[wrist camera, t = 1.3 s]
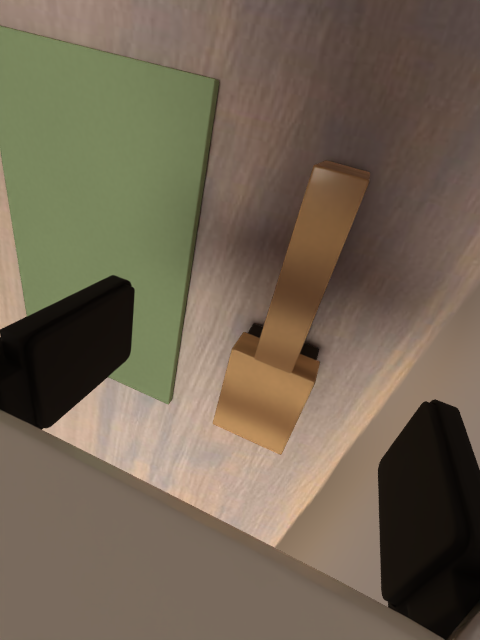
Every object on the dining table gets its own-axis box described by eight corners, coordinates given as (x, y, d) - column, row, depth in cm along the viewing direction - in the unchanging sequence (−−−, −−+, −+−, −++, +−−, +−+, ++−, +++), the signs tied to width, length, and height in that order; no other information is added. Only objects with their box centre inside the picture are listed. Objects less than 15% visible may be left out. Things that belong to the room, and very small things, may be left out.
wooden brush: (298, 152, 16) (281, 155, 13) (399, 180, 15) (405, 189, 12) (231, 389, 24) (212, 424, 21) (292, 416, 24) (281, 455, 21)
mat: (-11, 23, 18) (-22, 20, 18) (219, 80, 16) (214, 78, 15) (36, 338, 30) (30, 342, 29) (172, 400, 27) (168, 405, 27)
